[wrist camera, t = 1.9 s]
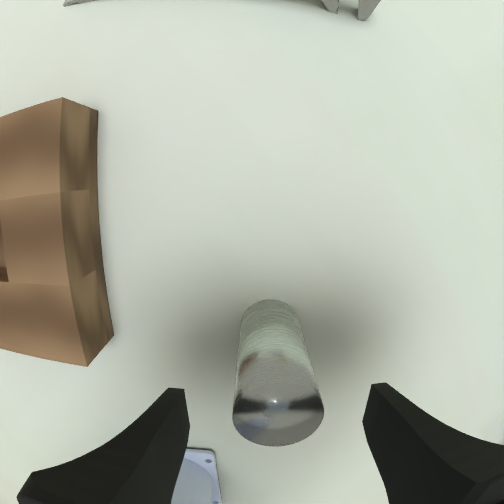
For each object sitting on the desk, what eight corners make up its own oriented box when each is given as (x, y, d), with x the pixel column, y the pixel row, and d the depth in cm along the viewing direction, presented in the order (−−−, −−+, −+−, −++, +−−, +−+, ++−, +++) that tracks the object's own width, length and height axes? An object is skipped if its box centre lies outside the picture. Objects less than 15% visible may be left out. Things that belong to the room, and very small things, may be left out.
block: (113, 335, 19) (87, 366, 15) (-18, 316, 19) (-47, 334, 15) (98, 111, 16) (62, 97, 12) (-36, 149, 16) (-70, 149, 12)
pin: (297, 350, 19) (318, 443, 11) (241, 351, 19) (234, 446, 11) (299, 299, 18) (329, 380, 10) (240, 299, 18) (230, 383, 10)
